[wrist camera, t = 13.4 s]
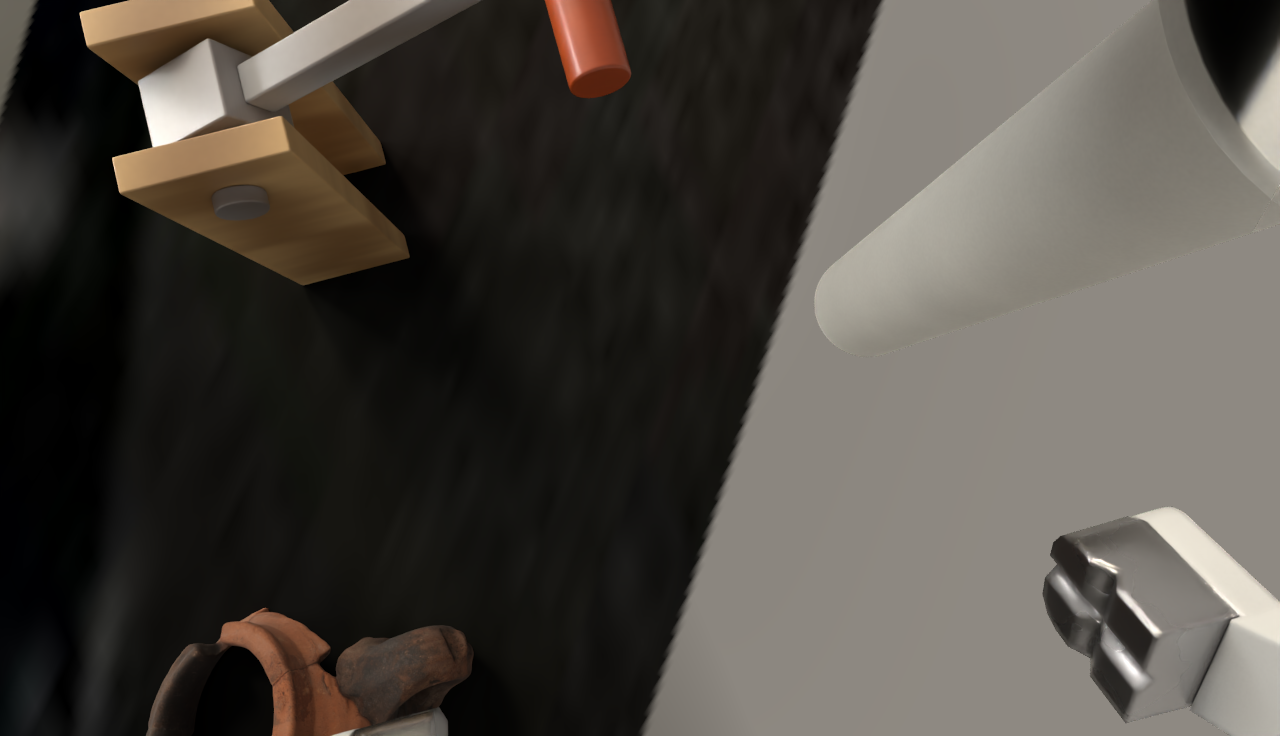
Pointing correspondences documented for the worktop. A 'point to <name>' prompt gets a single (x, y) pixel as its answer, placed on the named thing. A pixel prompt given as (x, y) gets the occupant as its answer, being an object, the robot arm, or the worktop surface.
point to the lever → (349, 62)
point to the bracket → (251, 150)
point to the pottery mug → (321, 676)
